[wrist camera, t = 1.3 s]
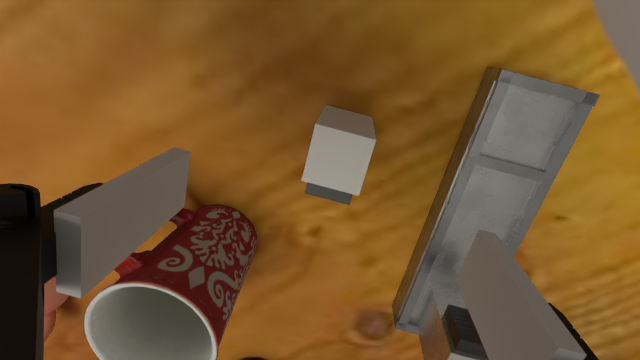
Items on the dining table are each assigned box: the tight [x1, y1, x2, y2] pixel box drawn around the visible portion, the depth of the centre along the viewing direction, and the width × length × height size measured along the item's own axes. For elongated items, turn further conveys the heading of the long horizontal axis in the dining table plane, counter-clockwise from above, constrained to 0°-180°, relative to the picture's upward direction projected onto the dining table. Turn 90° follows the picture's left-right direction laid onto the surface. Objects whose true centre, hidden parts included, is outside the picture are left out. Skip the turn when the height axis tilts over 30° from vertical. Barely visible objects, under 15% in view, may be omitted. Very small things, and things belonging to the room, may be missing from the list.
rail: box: [392, 67, 600, 360], centre depth 27 cm, size 24×7×10 cm, turn 166°
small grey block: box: [302, 105, 376, 205], centre depth 27 cm, size 5×4×8 cm
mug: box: [84, 205, 257, 360], centre depth 29 cm, size 13×9×14 cm
